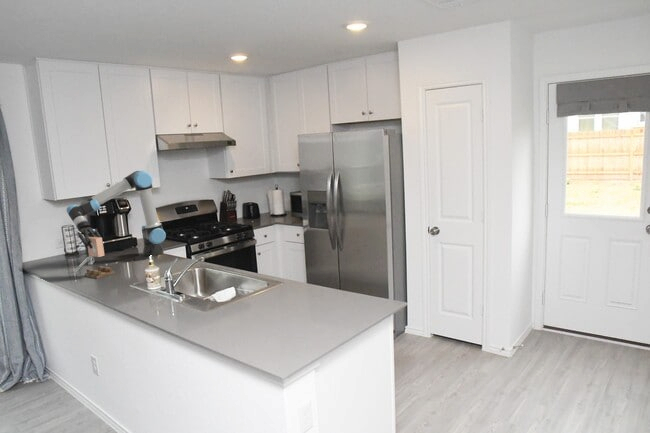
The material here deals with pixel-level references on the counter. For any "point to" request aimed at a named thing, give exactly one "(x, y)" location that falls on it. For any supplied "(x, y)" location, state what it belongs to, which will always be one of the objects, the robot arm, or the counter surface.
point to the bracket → (85, 262)
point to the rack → (99, 272)
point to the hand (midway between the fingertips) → (99, 250)
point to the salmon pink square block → (98, 245)
